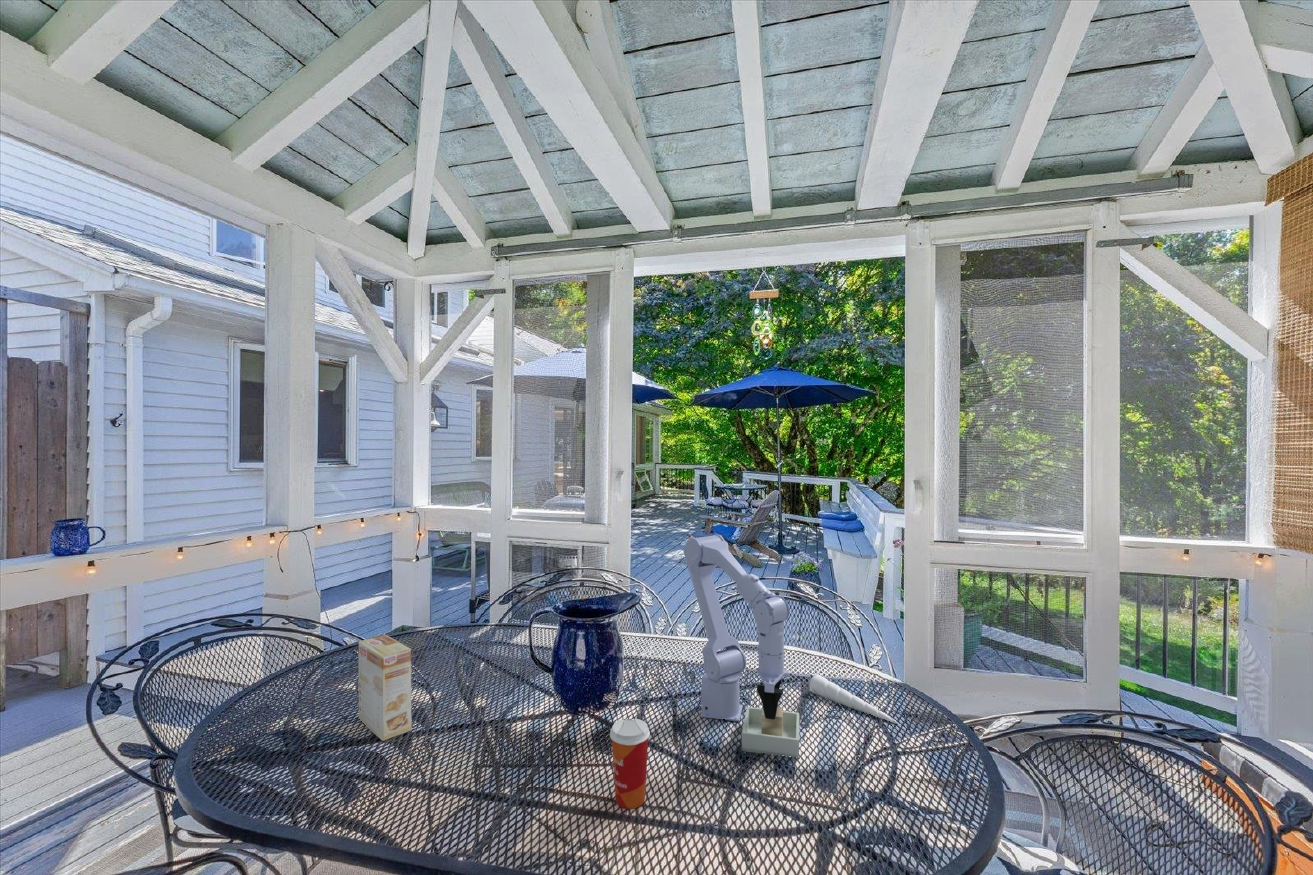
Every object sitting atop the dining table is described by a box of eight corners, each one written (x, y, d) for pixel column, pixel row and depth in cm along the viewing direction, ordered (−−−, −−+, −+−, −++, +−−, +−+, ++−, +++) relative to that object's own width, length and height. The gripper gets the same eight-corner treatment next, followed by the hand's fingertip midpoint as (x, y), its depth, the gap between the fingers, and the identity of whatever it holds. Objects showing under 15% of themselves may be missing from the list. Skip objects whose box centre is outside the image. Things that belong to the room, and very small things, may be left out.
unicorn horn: (889, 730, 133) (889, 710, 133) (807, 694, 152) (807, 676, 152) (900, 724, 135) (900, 704, 135) (819, 689, 155) (818, 671, 155)
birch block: (761, 741, 127) (761, 714, 127) (763, 731, 131) (763, 705, 131) (782, 744, 126) (782, 717, 126) (782, 733, 130) (782, 707, 130)
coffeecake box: (412, 730, 134) (412, 648, 134) (381, 742, 129) (381, 657, 128) (387, 709, 144) (386, 633, 144) (357, 720, 139) (356, 641, 139)
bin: (741, 750, 124) (741, 732, 124) (747, 723, 136) (747, 706, 136) (798, 758, 121) (798, 740, 121) (799, 729, 133) (799, 712, 133)
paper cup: (610, 788, 111) (609, 717, 111) (648, 785, 112) (648, 715, 112) (610, 814, 104) (609, 739, 103) (651, 812, 104) (651, 736, 104)
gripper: (788, 665, 120) (788, 728, 121) (790, 640, 134) (789, 697, 135) (754, 662, 122) (754, 724, 122) (760, 638, 136) (760, 694, 136)
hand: (771, 710), depth 129 cm, fingers open, 7 cm apart
